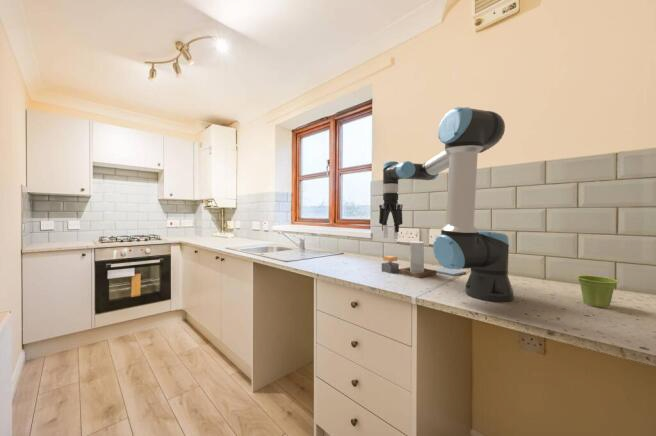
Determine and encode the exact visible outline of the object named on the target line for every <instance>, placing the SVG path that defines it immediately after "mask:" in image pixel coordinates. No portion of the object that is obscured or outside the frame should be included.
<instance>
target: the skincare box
mask: <svg viewBox="0 0 656 436" xmlns="http://www.w3.org/2000/svg"><path fill="white" fill-rule="evenodd" d="M409 242H410V243H409V267H410V271H411V272H416V273H422V272H424V268H425V261H424V260H425V252H424V251H425V248H424V247H425V245H424V241H409Z"/></svg>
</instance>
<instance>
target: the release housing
mask: <svg viewBox="0 0 656 436" xmlns="http://www.w3.org/2000/svg"><path fill="white" fill-rule="evenodd" d="M399 265H400V263H398V262H394V261H392V264H388V261H385V262H382V263H381V272H385V273H389V274H392V273H398V269H400V268H399Z"/></svg>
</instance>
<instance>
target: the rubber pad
mask: <svg viewBox="0 0 656 436" xmlns="http://www.w3.org/2000/svg"><path fill="white" fill-rule="evenodd" d="M435 270H436V274H441V275H444V276H445V275H446V276H450V277H456V275H457V276H461V275H465V274H467V271H465V270H462V269H458V270H457V269H447V268H445V267H443V268H437V269H435ZM464 273H465V274H464ZM460 274H461V275H460Z"/></svg>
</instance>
